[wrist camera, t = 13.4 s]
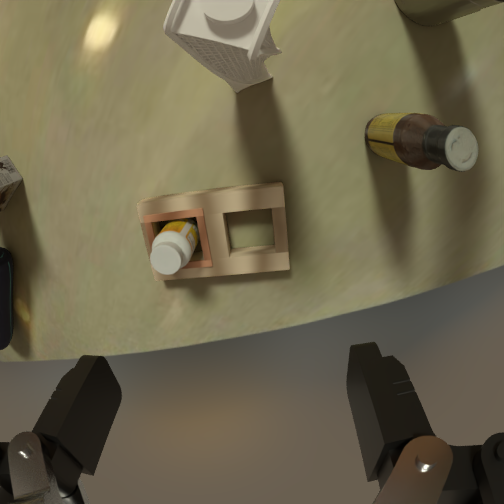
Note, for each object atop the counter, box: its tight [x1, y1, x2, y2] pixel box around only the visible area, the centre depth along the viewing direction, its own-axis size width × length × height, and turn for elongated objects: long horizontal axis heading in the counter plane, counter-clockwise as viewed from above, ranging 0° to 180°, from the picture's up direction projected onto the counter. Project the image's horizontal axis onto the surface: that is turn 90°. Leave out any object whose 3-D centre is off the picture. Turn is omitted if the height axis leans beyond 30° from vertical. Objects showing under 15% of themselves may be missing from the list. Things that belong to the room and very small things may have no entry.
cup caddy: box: [136, 182, 290, 281], centre depth 44 cm, size 20×12×3 cm, turn 96°
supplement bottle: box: [150, 218, 200, 275], centre depth 42 cm, size 5×5×10 cm
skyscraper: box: [163, 0, 282, 93], centre depth 24 cm, size 8×8×28 cm
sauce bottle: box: [365, 113, 478, 172], centre depth 30 cm, size 6×6×20 cm
